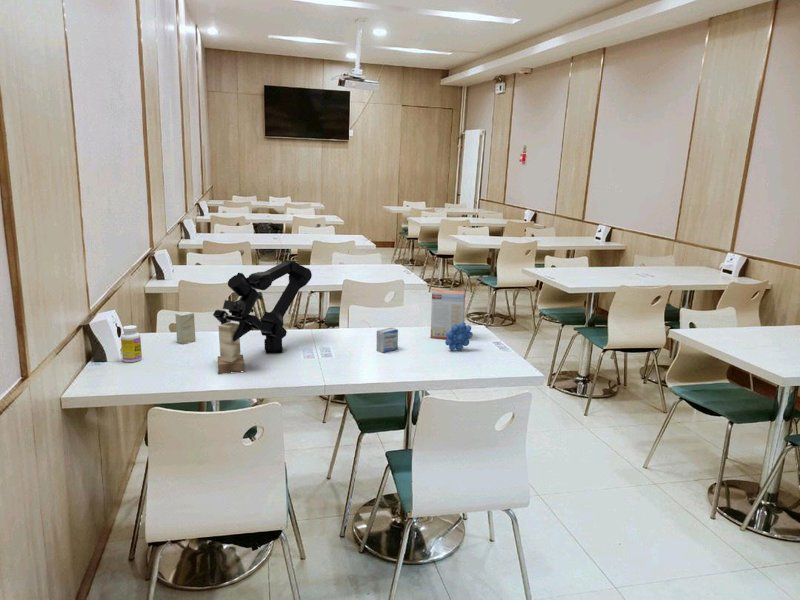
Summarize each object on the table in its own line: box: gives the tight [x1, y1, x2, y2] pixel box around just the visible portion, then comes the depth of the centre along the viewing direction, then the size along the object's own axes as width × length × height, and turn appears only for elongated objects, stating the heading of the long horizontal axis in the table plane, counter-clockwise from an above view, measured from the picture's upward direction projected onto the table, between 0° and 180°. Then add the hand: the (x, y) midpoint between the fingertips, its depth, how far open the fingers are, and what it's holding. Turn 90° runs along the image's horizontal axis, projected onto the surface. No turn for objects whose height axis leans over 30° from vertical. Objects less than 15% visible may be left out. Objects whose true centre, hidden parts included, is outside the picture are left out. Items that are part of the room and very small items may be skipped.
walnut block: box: [217, 354, 245, 375], centre depth 213 cm, size 9×9×4 cm
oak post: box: [218, 322, 242, 362], centre depth 211 cm, size 5×5×13 cm
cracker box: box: [430, 289, 466, 340], centre depth 255 cm, size 14×6×21 cm, turn 77°
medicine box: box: [376, 327, 399, 354], centre depth 238 cm, size 8×4×9 cm, turn 131°
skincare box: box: [174, 311, 196, 345], centre depth 242 cm, size 6×4×12 cm
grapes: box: [444, 321, 474, 351], centre depth 240 cm, size 12×7×12 cm, turn 103°
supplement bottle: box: [120, 324, 143, 363], centre depth 219 cm, size 7×7×13 cm
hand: (227, 339), depth 210 cm, fingers open, 6 cm apart
